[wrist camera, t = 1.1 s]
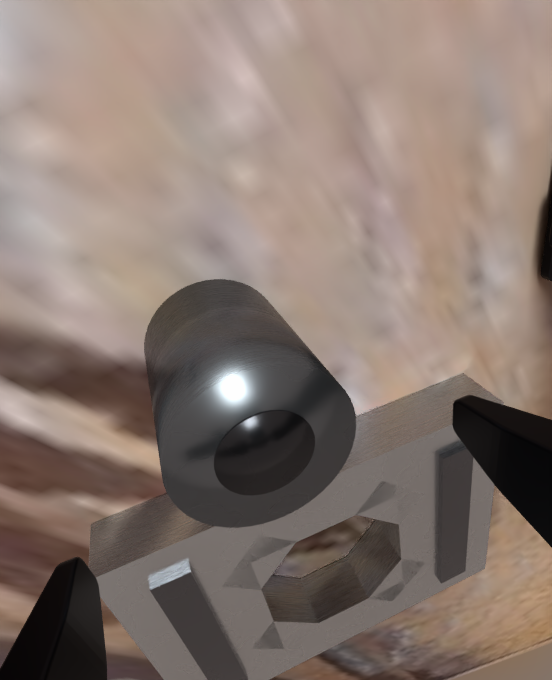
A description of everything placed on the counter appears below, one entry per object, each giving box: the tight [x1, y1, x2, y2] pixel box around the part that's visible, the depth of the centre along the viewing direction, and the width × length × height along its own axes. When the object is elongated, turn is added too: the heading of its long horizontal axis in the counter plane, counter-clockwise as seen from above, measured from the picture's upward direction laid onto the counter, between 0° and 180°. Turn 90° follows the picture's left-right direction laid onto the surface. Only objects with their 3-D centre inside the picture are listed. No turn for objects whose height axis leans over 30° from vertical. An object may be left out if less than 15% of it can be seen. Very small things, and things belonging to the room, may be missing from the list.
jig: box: [89, 373, 504, 680], centre depth 21 cm, size 18×13×3 cm
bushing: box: [144, 279, 356, 528], centre depth 13 cm, size 5×5×6 cm
